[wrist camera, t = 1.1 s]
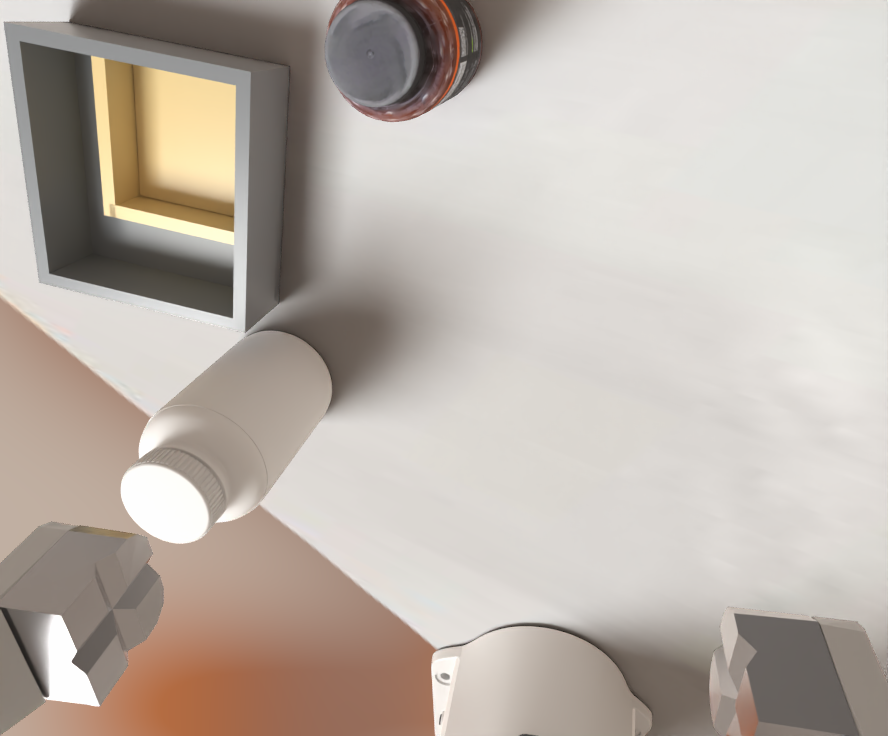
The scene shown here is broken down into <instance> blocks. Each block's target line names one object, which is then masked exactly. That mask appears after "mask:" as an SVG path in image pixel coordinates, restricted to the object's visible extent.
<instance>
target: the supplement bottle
mask: <svg viewBox="0 0 888 736" xmlns="http://www.w3.org/2000/svg"><path fill="white" fill-rule="evenodd" d="M481 52H482V34H481V28H480V25H479V22H478V18H477V16H476V14H475V12H474V10H473V8H472V7H471V5H470V4H469V3H468V1H467V0H340V1H339V2H338V4H337V6H336V7H335V9H334V11H333V13H332V16H331V18H330V21H329V25H328V28H327V34H326V40H325V59H326V64H327V68H328V71H329V74H330V76H331V78H332V80H333V82H334V83H335V85H336V87H337V88H338V89H339V91H340V93H341V94H342V95H343V97H344V98H345V99H346V100H347V101H348V102H349V103H350V104H351V105H352V106H353V107H354V108H355V109H357V110H358V111H359V112H361V113H363V114H365V115H366V116H369V117H371V118H373V119H377V120H382V121H387V122H398V121H405V120H410V119H413V118H416V117H418V116H420V115H422V114H424V113H426V112H428V111H430V110H431V109H433V108H435V107H437V106H438V105H440V104H442V103H444V102H445V101H447V100H449V99H451V98H453V97H454V96H456V95H457V94H458V93H459V92H461V91H462V90H463V89H464V88H465V87H466V85H467V84H469V82H470V81H471V79H472V78H473V76H474V74H475V72H476V70H477V68H478V65H479V62H480V59H481Z"/></svg>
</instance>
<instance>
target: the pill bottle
mask: <svg viewBox="0 0 888 736" xmlns="http://www.w3.org/2000/svg"><path fill="white" fill-rule="evenodd" d="M331 397H332V381H331V377H330V373H329V371H328V368H327V366H326V364H325V362H324V361H323V359H322V358H321V356H320V355H319V354H318V353H317V352H316V351H315V350H314V349H313V348H312V347H311V346H310V345H309V344H307V343H306V342H305V341H303V340H302V339H300V338H298V337H296V336H294V335H291V334H288V333H285V332H280V331H261V332H257V333H254V334H251V335H249V336H247V337H246V338H244V339H242V340H241V341H239V342H238V343H237V344H236V345H234V346H233V347H232V348H231V349H230V350H229V351H227V352H226V353H225V354H224V355H223V356H222V357H220V358H219V359H218V360H217V361H216V362H215V363H213V364H212V365H211V366H210V367H209V368H208V369H207V370H205V371H204V372H203V373H202V374H201V375H200V376H198V377H197V378H196V379H195V380H194V381H193V382H191V383H190V384H189V385H188V386H187V387H186V388H184V389H183V390H182V391H181V392H180V393H179V394H177V395H176V396H175V397H174V398H173V399H172V400H170V401H169V402H168V403H167V404H166V405H165V406H164V407H162V408H161V409H160V410H159V411H158V412H157V413H156V414H155V415H154V416H153V417H152V418H151V419H150V420H149V422H148V423H147V425H146V427H145V429H144V431H143V433H142V436H141V439H140V444H139V460H138V461H137V462H136V463H135V464H133V465H132V466H131V467H130V468H129V469H128V470H127V472H126V473H125V475H124V476H123V479H122V482H121V496H122V500H123V503H124V506H125V508H126V510H127V512H128V513H129V515H130V516H131V517H132V518H133V520H134V521H135V522H136V523H137V524H138V525H139V526H140V527H141V528H143V529H144V530H145V531H147V532H148V533H149V534H151V535H153V536H155V537H157V538H159V539H161V540H164V541H167V542H172V543H189V542H193V541H196V540H199V539H200V538H202V537H203V536H204V535H206V533H208V531H209V530H210V529H211V528H212V526H213V525H214V524H215V523H216V522H227V521H231V520H234V519H237V518H240V517H242V516H244V515H246V514H247V513H249V512H250V511H252V510H253V509H255V508H256V507H257V506H258V505H259V504H260V502H261V501H262V500H263V499H264V497H265V496H266V495H267V493H268V492H269V491H270V489H271V488H272V486H273V485H274V484H275V482H276V481H277V480H278V478H279V477H280V475H281V474H282V473H283V471H284V470H285V469H286V467H287V466H288V464H289V463H290V462H291V460H292V459H293V458H294V456H295V455H296V453H297V452H298V451H299V449H300V448H301V447H302V445H303V444H304V442H305V441H306V440H307V438H308V437H309V436H310V434H311V433H312V431H313V430H314V429H315V427H316V426H317V425H318V423H319V422H320V420H321V419H322V418H323V416H324V415H325V413H326V411H327V409H328V407H329V404H330V401H331Z"/></svg>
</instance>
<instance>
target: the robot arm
mask: <svg viewBox="0 0 888 736" xmlns="http://www.w3.org/2000/svg"><path fill="white" fill-rule="evenodd" d="M152 555H153V552H152V549H151V547H150V544H149V541H148V539H147V537H145V536H142V535H138V534H132V533H126V532H120V531H113V530H107V529H100V528H94V527H88V526H81V525H80V526H78V525H71V524H64V523H57V522H49V523H47V524H44V525H41V526H39V527H38V528H37V529H35V530H34V532H32V533H31V534H30V535H29V536H28V537H27V538H26V539H25V540H24V541H23V542H22V543H21V544H20V545H19V546H18V547H17V548H16V549H14V551H12V552H11V553H10V554H9V555H8V556H7V557H6V558H5V559H4V560H3V561H2V562H1V563H0V735H1V734H3V733H4V732H5V731H7V730H8V729H10V728H11V727H12V726H13V725H15V724H17V723H18V722H19V721H20V720H22V719H23V718H25V717H26V716H27V715H29V714H30V713H32V712H33V711H34V710H36V709H37V708H38V707H40V706H41V705H42V704H44V703H45V699H51V700H58V701H65V702H72V703H79V704H86V705H93V706H101V704H102V703H103V701H104V699H105V698H106V697H107V695H108V694H109V693H110V691H111V690H112V688H113V687H114V685H115V684H116V683H117V681H118V680H119V678H120V677H121V675H122V674H123V673H124V671H125V670H126V668H127V666H128V651H129V650H130V649H132V648H133V647H135V646H137V645H138V644H140V643H142V642H143V641H145V640H146V639H147V637H148V636H149V635H150V633H151V631H152V630H153V629H154V627H155V625H156V624H157V621H158V619H159V616H160V613H161V609H162V607H163V603H164V588H163V584H162V581H161V577H160V575H158V574H157V572H156V571H155V570H154V569H152V568H151V567H150V566H149V565H148V564H147V563H148V562H149V560H150V558H151V556H152ZM720 631H721V637H722V642H723V645H722V646H721V647H719V648H718V649H716V650H715V651H714V653H713V658H712V662H711V667H710V681H709V697H710V709H711V716H712V722H713V728H714V729H715V730H716V731H717V732H718V734H719V735H720V736H888V682H887V680H886V677H885V675H884V673H883V670H882V668H881V666H880V663H879V661H878V659H877V657H876V654H875V652H874V650H873V647H872V645H871V643H870V641H869V638H868V636H867V634H866V631H865V629H864V628H863V627H862V626H861V625H860V624H859V623H858V622H856V621H847V620H839V619H830V618H821V617H809V616H806V615H797V614H788V613H779V612H770V611H762V610H753V609H744V608H735V607H727V608H726V610H725V612H724V613H723V617H722V620H721V624H720ZM431 669H432V688H433V706H434V721H435V722H434V723H435V736H645V735H646V734H647V733H648V732H649V731H650V729H651V727H652V713H651V711H650V710H649V709H648V708H647V707H646V706H645V705H644V704H643V703H642V702H641V701H640V700H639V699H638V698H636V697H635V696H634V695H633V694H632V693H631V691H630V690H629V688H628V686H627V684H626V681H625V679H624V677H623V675H622V673H621V672H620V670H619V669H618V667H617V666H616V665H615V663H614V662H613V661H612V660H611V659H610V658H609V657H608V656H607V655H606V654H604V653H603V652H602V651H601V650H599V649H598V648H596V647H595V646H593V645H592V644H590V643H588V642H586V641H585V640H583V639H580V638H578V637H576V636H574V635H571V634H568V633H565V632H562V631H558V630H554V629H549V628H543V627H533V626H519V627H509V628H503V629H499V630H495V631H492V632H490V633H487V634H485V635H483V636H481V637H479V638H477V639H476V640H474V641H472V642H471V643H469V644H466V645H464V646H458V647H450V648H445V649H441V650H438V651H436V652H435V653H434V654H433V658H432V665H431Z"/></svg>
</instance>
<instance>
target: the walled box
mask: <svg viewBox="0 0 888 736" xmlns="http://www.w3.org/2000/svg"><path fill="white" fill-rule="evenodd" d="M4 27H5V35H6V42H7V49H8V57H9V64H10V71H11V79H12V86H13V93H14V101H15V108H16V115H17V123H18V130H19V137H20V145H21V152H22V159H23V167H24V174H25V181H26V189H27V196H28V203H29V211H30V218H31V225H32V233H33V240H34V247H35V255H36V262H37V270H38V277H39V283H43V284H47V285H51V286H55V287H59V288H63V289H67V290H71V291H75V292H79V293H84V294H88V295H92V296H96V297H100V298H104V299H108V300H112V301H116V302H120V303H124V304H128V305H132V306H137V307H141V308H145V309H149V310H153V311H157V312H161V313H165V314H169V315H173V316H177V317H181V318H185V319H189V320H194V321H198V322H202V323H206V324H210V325H214V326H218V327H222V328H226V329H230V330H234V331H238V332H242V333H246V332H247V331H248V330H249V329H250V328H252V327H253V326H254V325H255V324H256V323H257V322H258V321H260V320H261V319H262V318H263V317H264V316H265V315H266V314H268V313H269V312H270V311H271V310H272V309H273V308H274V307H275V306H277V305H278V304H279V286H280V265H281V244H282V223H283V201H284V180H285V159H286V138H287V117H288V96H289V74H290V66H286V65H281V64H276V63H271V62H266V61H261V60H256V59H251V58H246V57H241V56H236V55H231V54H226V53H221V52H216V51H211V50H206V49H201V48H196V47H191V46H186V45H181V44H176V43H171V42H166V41H161V40H156V39H151V38H146V37H141V36H136V35H131V34H126V33H121V32H116V31H111V30H106V29H101V28H96V27H91V26H87V25H82V24H77V23H72V22H4Z"/></svg>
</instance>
